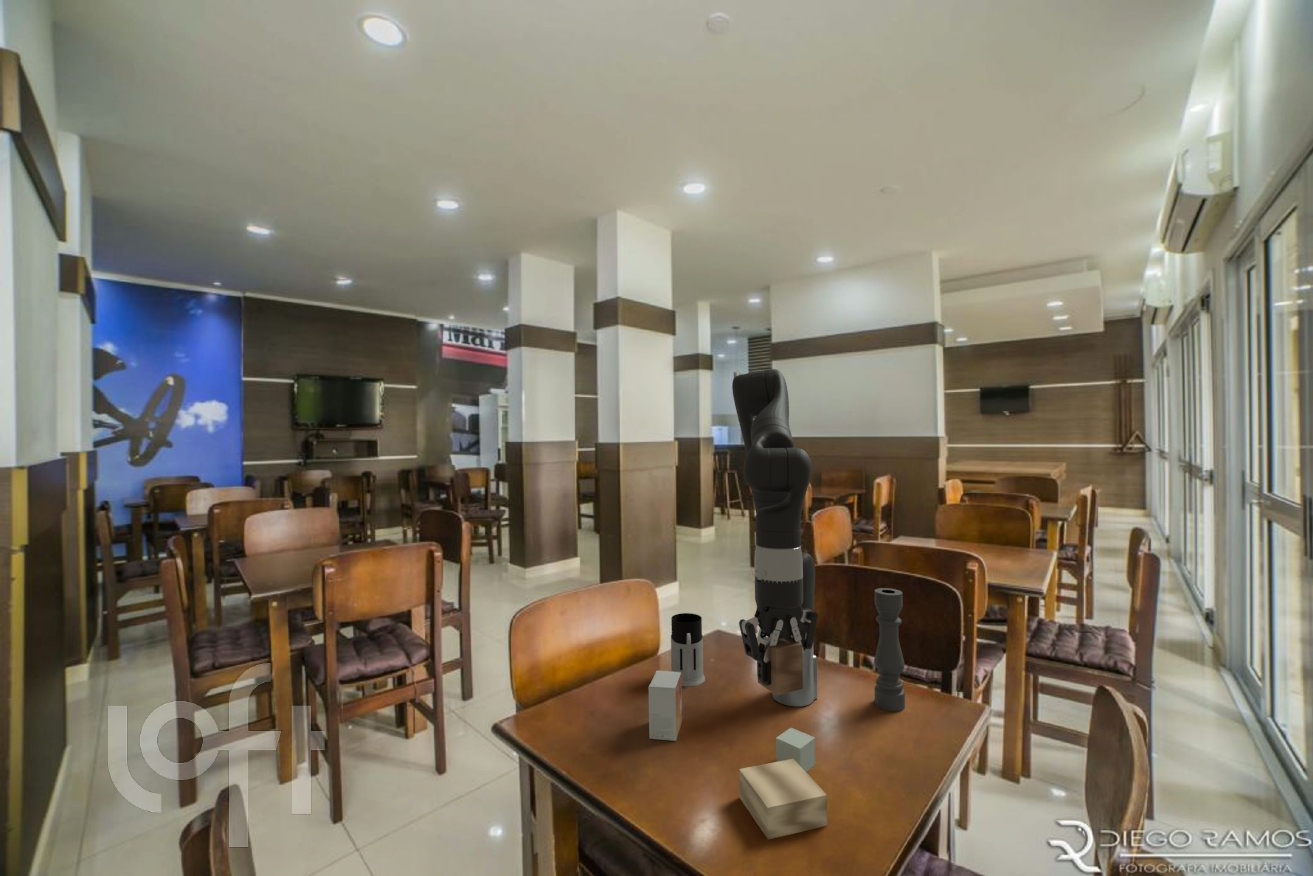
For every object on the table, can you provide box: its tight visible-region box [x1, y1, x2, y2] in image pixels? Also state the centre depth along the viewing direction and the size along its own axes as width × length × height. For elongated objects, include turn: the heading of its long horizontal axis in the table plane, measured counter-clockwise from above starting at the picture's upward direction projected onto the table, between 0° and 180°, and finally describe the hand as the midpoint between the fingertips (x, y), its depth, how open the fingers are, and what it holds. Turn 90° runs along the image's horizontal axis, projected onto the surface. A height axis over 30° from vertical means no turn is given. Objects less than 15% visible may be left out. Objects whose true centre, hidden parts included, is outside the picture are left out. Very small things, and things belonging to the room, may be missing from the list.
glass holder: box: [670, 612, 706, 687], centre depth 134 cm, size 9×14×15 cm, turn 1°
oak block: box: [738, 759, 828, 840], centre depth 88 cm, size 10×10×5 cm
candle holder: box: [873, 587, 906, 712], centre depth 123 cm, size 6×6×25 cm
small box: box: [648, 670, 683, 742], centre depth 113 cm, size 8×6×10 cm
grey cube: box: [775, 727, 816, 773], centre depth 101 cm, size 5×5×5 cm
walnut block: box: [757, 636, 803, 695], centre depth 88 cm, size 5×5×7 cm
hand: (779, 679), depth 88 cm, fingers closed on walnut block, 5 cm apart
